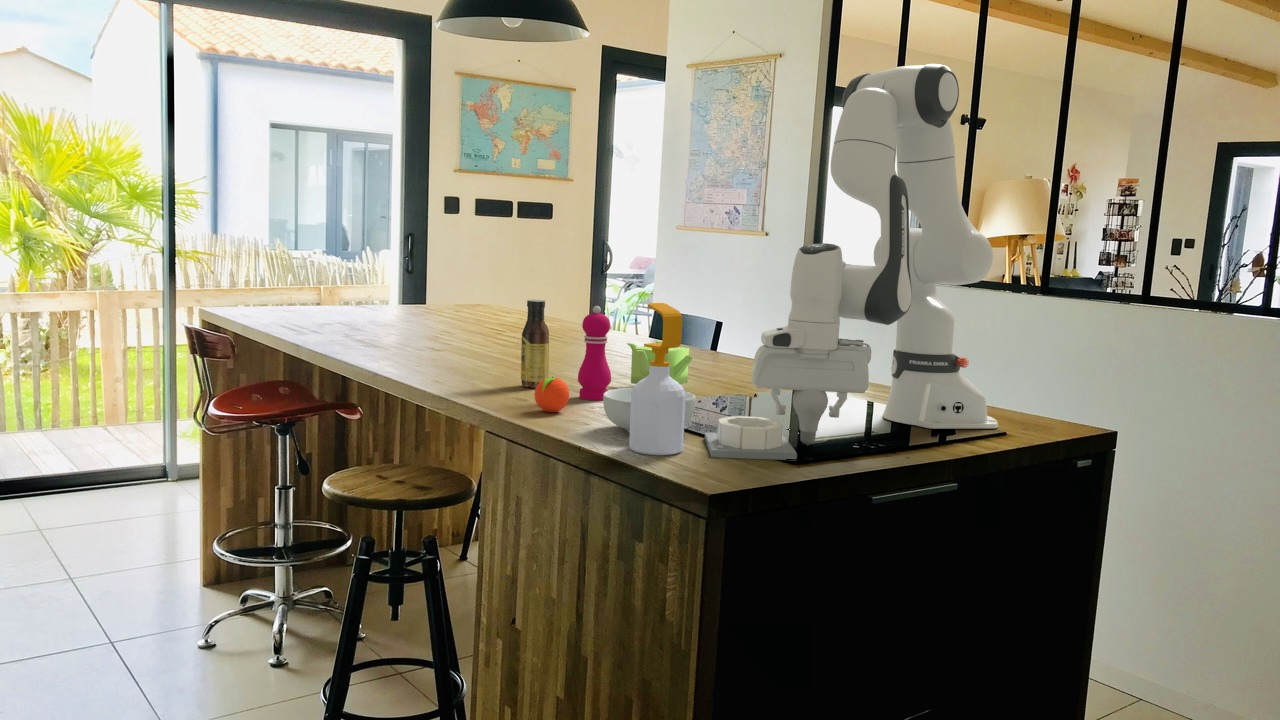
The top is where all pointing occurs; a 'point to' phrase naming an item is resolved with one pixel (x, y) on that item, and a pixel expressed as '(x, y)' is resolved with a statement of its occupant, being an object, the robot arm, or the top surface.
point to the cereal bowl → (620, 406)
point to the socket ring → (749, 432)
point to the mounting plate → (748, 450)
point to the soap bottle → (659, 396)
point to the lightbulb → (809, 412)
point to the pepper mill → (595, 357)
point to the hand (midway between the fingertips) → (807, 415)
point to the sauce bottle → (534, 346)
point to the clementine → (551, 394)
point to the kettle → (675, 357)
